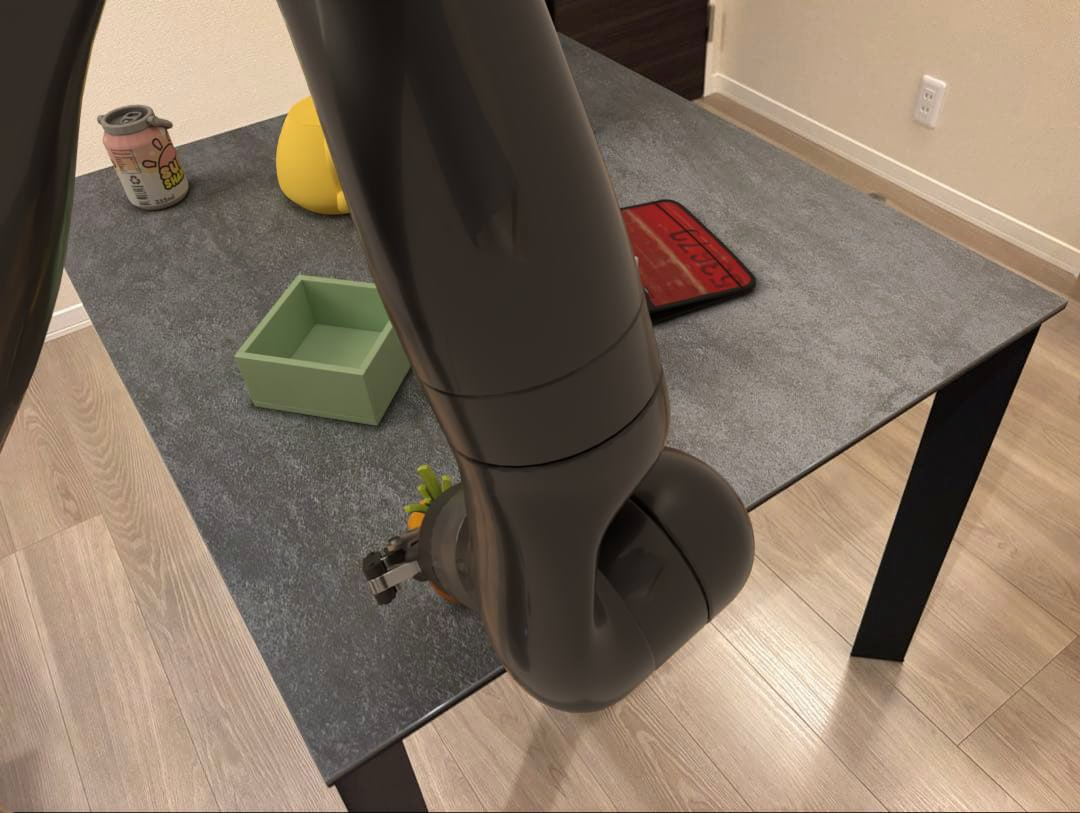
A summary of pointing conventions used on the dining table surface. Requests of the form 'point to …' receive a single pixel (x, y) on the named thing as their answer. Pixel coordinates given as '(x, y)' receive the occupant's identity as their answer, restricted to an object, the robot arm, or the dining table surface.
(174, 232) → the dining table surface
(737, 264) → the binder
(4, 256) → the robot arm
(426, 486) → the carrot
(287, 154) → the teapot
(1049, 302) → the dining table surface
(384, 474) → the dining table surface
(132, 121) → the beverage can
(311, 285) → the bin
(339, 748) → the dining table surface
